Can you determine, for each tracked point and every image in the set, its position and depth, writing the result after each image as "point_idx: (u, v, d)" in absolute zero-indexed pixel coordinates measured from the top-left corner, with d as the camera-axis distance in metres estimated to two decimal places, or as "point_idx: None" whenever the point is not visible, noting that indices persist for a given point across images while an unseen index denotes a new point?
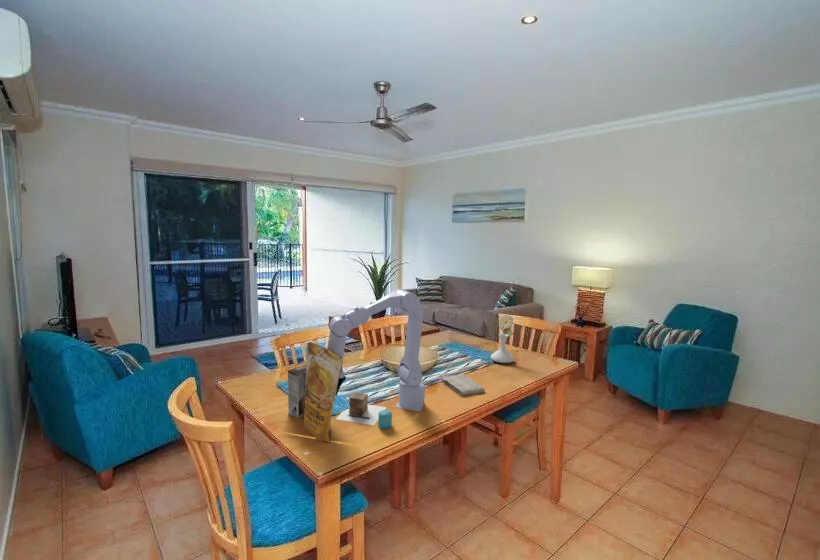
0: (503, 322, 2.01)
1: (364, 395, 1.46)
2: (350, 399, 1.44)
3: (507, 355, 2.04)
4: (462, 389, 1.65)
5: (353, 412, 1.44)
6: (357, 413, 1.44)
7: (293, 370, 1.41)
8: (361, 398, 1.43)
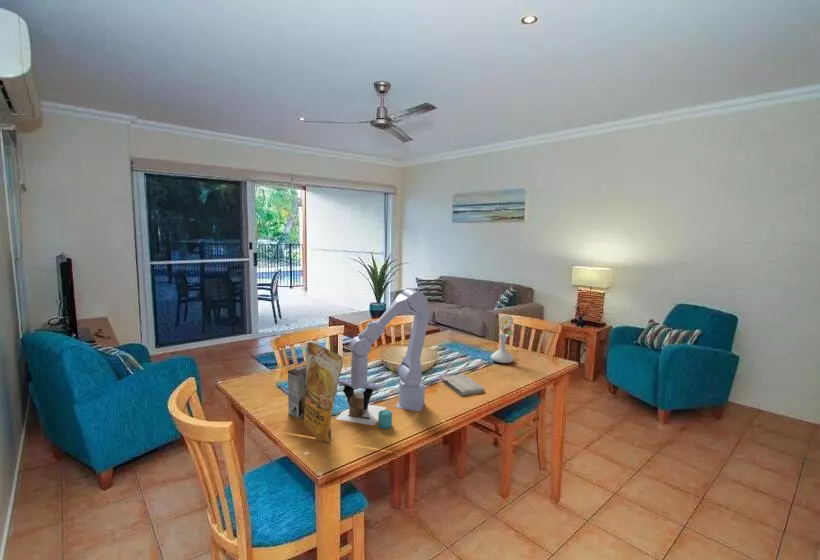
0: (503, 322, 2.01)
1: None
2: (350, 399, 1.44)
3: (507, 355, 2.04)
4: (461, 389, 1.65)
5: (353, 412, 1.44)
6: (357, 413, 1.44)
7: (293, 370, 1.41)
8: (361, 398, 1.43)
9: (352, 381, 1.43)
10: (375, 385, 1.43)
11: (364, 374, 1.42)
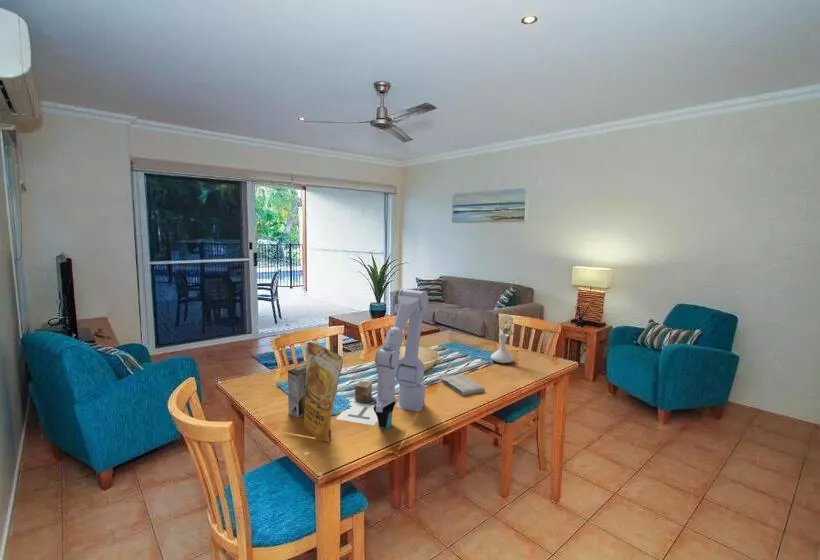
0: (503, 322, 2.01)
1: (368, 383, 1.58)
2: (356, 387, 1.55)
3: (507, 355, 2.04)
4: (462, 389, 1.65)
5: (358, 399, 1.56)
6: (362, 400, 1.55)
7: (293, 370, 1.41)
8: (366, 386, 1.55)
9: (391, 396, 1.34)
10: None
11: None
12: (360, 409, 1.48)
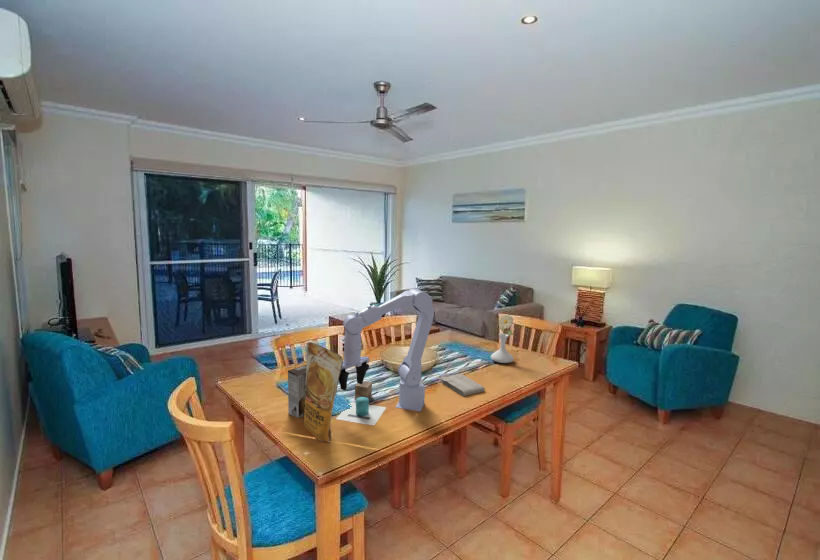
0: (503, 322, 2.01)
1: (368, 383, 1.58)
2: (356, 387, 1.55)
3: (507, 355, 2.04)
4: (463, 389, 1.65)
5: None
6: None
7: (293, 370, 1.41)
8: (366, 386, 1.55)
9: (353, 361, 1.41)
10: (365, 357, 1.48)
11: None
12: None
